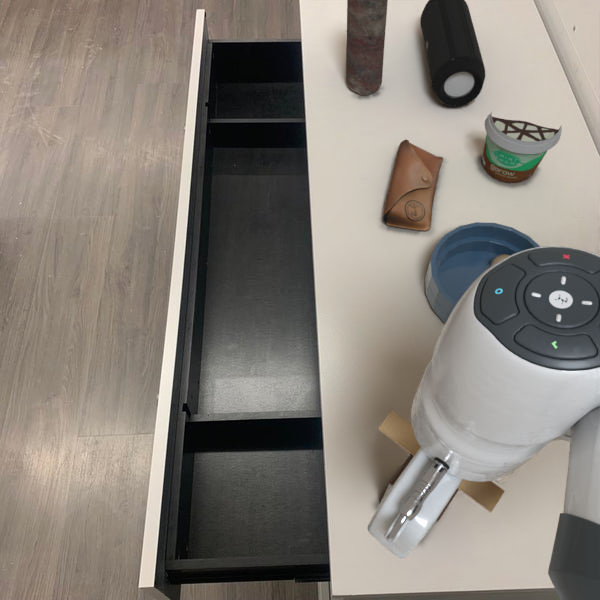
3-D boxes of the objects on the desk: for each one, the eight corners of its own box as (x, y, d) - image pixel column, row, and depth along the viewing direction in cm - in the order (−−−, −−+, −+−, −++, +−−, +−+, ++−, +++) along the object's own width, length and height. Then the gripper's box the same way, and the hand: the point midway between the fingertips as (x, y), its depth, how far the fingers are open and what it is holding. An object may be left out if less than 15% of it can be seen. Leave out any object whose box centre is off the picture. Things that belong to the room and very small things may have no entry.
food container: (467, 179, 94) (481, 135, 85) (473, 155, 97) (488, 110, 88) (539, 195, 91) (561, 151, 83) (543, 170, 94) (565, 125, 86)
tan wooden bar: (503, 491, 48) (505, 491, 46) (489, 512, 47) (491, 512, 46) (392, 412, 52) (391, 410, 51) (379, 430, 52) (378, 428, 51)
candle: (337, 86, 108) (339, -14, 91) (358, 68, 111) (364, -32, 94) (367, 101, 106) (375, 1, 89) (388, 82, 108) (400, -19, 91)
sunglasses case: (433, 231, 87) (417, 205, 83) (394, 238, 91) (377, 213, 87) (444, 155, 96) (431, 127, 92) (408, 165, 100) (394, 139, 96)
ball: (511, 256, 83) (524, 254, 79) (509, 282, 83) (522, 280, 79) (486, 254, 83) (498, 251, 79) (484, 279, 83) (496, 278, 79)
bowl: (560, 283, 82) (576, 260, 77) (504, 363, 75) (517, 345, 70) (461, 229, 88) (470, 204, 83) (402, 298, 82) (407, 277, 77)
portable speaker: (415, 34, 117) (423, -13, 108) (461, 32, 116) (472, -14, 108) (428, 111, 103) (438, 66, 95) (480, 110, 103) (494, 64, 94)
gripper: (434, 570, 33) (405, 583, 45) (580, 340, 41) (522, 403, 52) (353, 501, 35) (345, 531, 47) (505, 296, 43) (466, 366, 55)
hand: (439, 462), depth 50 cm, fingers closed on tan wooden bar, 2 cm apart
